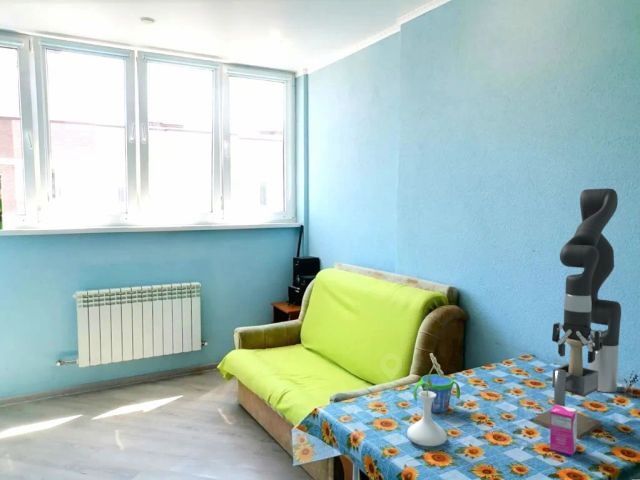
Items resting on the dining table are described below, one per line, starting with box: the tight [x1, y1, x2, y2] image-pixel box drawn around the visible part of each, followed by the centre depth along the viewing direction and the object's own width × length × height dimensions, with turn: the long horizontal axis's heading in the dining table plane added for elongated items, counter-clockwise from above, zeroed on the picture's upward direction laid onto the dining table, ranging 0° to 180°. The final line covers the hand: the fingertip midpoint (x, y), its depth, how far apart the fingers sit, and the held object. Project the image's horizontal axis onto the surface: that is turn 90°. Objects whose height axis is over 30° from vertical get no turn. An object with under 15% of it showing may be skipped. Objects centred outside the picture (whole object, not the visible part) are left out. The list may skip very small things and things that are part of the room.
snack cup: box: [412, 373, 461, 414], centre depth 159 cm, size 16×10×10 cm
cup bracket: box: [532, 363, 603, 440], centre depth 148 cm, size 17×14×18 cm
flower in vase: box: [406, 352, 448, 447], centre depth 137 cm, size 13×11×25 cm
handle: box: [565, 338, 586, 376], centre depth 150 cm, size 5×6×15 cm
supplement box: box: [549, 405, 578, 458], centre depth 131 cm, size 6×6×12 cm
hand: (575, 359), depth 149 cm, fingers open, 8 cm apart
